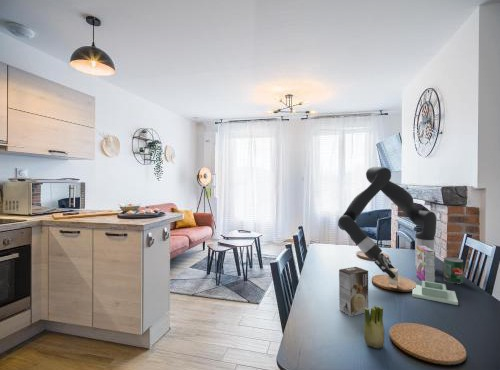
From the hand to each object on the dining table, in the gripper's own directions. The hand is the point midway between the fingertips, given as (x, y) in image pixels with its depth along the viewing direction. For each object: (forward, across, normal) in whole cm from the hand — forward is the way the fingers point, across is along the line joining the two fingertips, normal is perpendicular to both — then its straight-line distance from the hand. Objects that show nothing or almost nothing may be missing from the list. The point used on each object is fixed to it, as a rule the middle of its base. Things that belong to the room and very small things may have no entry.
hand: (395, 274), depth 130 cm
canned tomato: (+21, +24, -13) cm, 35 cm away
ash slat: (+4, 0, +4) cm, 6 cm away
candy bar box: (+13, +18, -4) cm, 23 cm away
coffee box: (-4, -36, +12) cm, 38 cm away
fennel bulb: (+3, -56, +5) cm, 56 cm away
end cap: (+15, -2, -7) cm, 16 cm away
